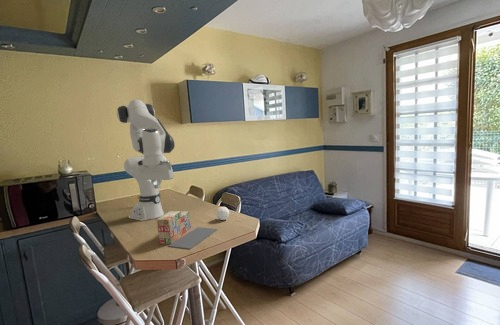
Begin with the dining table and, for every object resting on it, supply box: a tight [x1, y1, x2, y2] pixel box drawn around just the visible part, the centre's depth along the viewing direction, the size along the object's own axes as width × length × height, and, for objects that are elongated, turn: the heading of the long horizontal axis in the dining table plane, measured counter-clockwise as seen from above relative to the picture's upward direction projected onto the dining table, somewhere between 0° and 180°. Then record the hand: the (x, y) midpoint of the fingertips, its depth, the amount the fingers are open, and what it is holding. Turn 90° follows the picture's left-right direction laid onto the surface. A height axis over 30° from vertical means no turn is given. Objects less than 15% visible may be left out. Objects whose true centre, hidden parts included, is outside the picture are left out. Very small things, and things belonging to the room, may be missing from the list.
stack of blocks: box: [156, 210, 191, 245], centre depth 134 cm, size 21×6×12 cm, turn 168°
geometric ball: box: [215, 206, 230, 221], centre depth 154 cm, size 8×8×8 cm
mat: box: [167, 226, 218, 250], centre depth 130 cm, size 12×24×1 cm, turn 157°
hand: (157, 188), depth 136 cm, fingers closed
